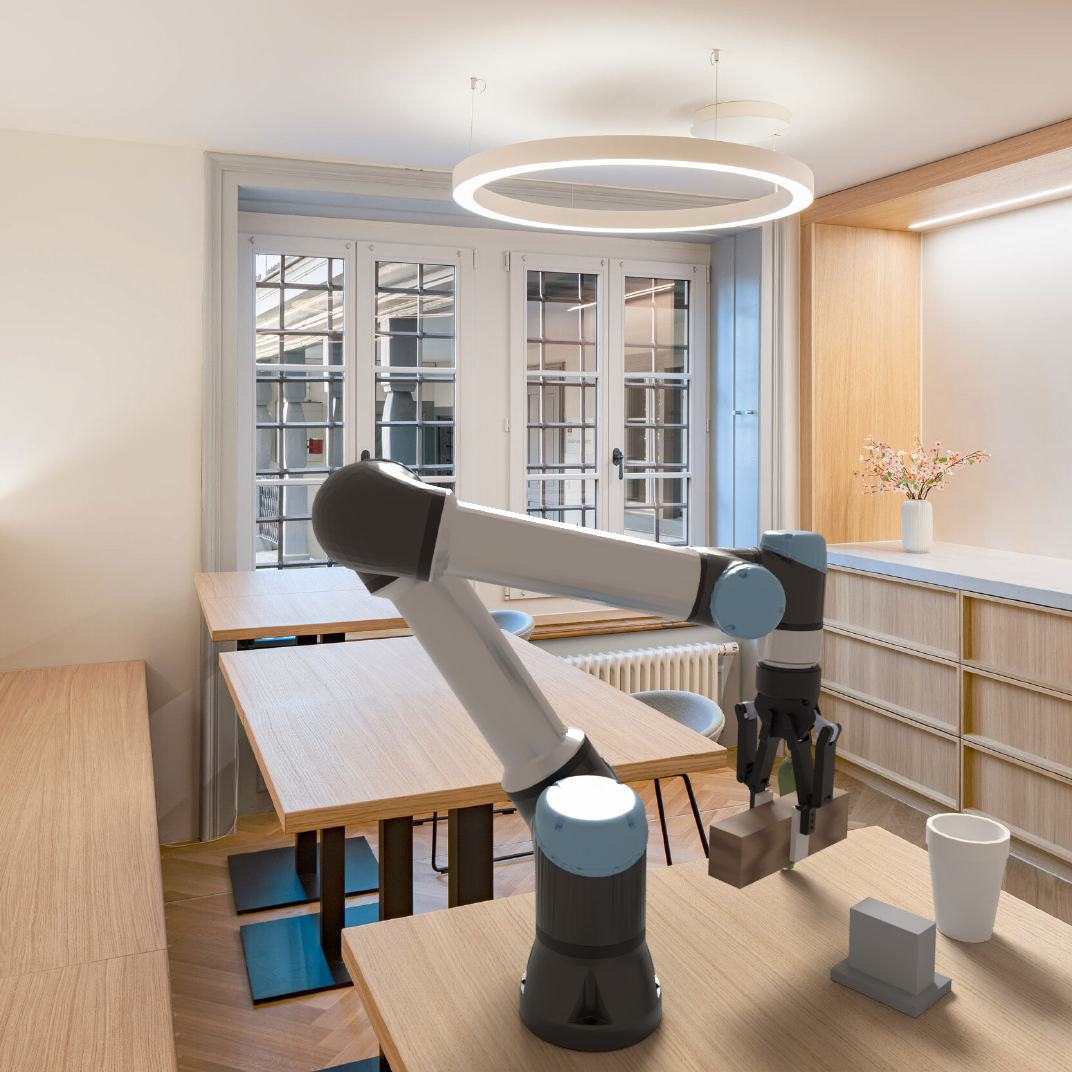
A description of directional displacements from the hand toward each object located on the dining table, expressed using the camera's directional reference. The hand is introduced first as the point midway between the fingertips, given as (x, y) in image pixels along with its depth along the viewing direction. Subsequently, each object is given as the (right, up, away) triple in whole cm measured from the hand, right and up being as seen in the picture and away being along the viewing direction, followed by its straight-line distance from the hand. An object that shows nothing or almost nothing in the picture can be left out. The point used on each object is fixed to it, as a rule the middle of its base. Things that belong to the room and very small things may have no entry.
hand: (780, 850), depth 117 cm
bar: (0, -1, 0) cm, 1 cm away
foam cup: (+23, -11, +3) cm, 26 cm away
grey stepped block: (+10, -12, -9) cm, 18 cm away
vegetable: (+7, -9, +20) cm, 23 cm away
